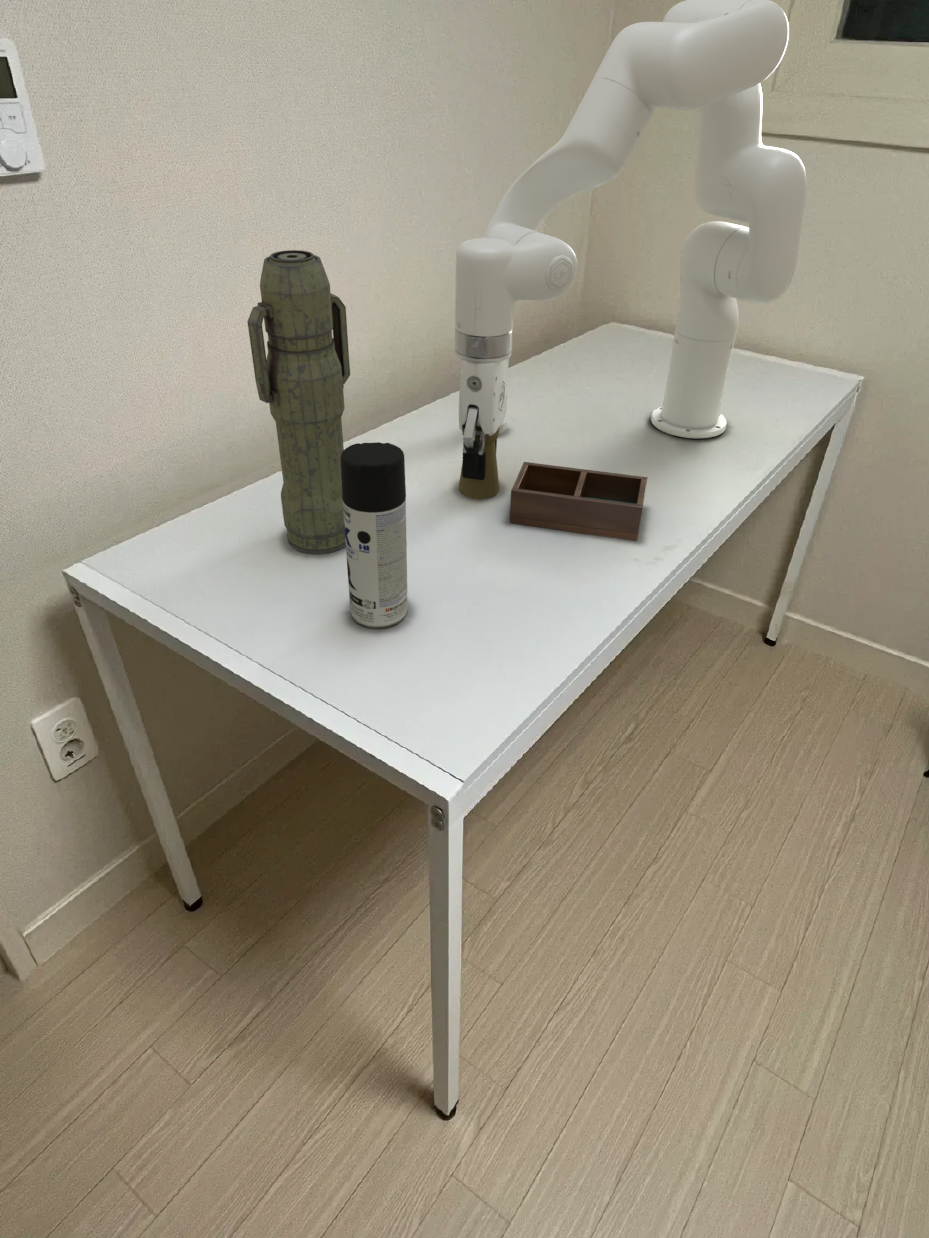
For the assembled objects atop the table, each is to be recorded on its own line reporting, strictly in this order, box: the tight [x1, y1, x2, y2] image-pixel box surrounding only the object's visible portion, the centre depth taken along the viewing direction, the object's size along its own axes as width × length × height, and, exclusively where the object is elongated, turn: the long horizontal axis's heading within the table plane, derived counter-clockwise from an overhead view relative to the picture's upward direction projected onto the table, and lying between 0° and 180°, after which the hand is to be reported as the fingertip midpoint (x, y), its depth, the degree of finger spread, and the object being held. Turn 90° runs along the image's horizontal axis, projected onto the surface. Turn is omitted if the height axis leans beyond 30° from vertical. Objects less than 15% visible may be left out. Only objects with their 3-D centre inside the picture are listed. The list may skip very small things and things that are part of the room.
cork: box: [457, 426, 500, 500], centre depth 118 cm, size 6×6×11 cm
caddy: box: [508, 461, 648, 541], centre depth 114 cm, size 9×17×5 cm, turn 76°
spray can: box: [341, 441, 409, 629], centre depth 90 cm, size 7×7×20 cm
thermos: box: [247, 249, 351, 555], centre depth 99 cm, size 9×12×35 cm
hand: (479, 466), depth 119 cm, fingers open, 6 cm apart
